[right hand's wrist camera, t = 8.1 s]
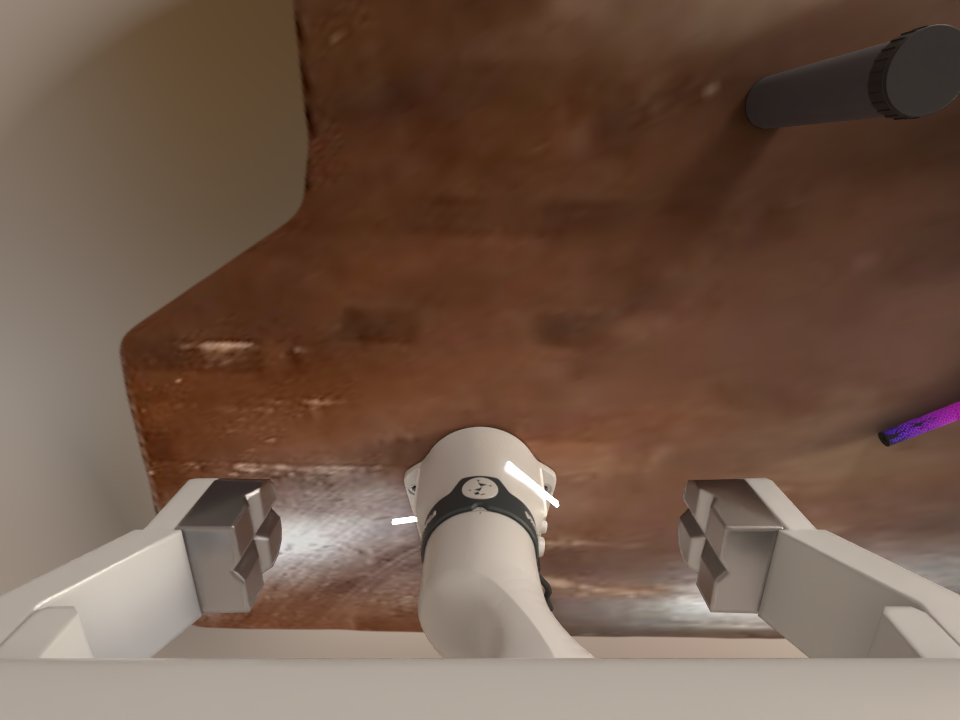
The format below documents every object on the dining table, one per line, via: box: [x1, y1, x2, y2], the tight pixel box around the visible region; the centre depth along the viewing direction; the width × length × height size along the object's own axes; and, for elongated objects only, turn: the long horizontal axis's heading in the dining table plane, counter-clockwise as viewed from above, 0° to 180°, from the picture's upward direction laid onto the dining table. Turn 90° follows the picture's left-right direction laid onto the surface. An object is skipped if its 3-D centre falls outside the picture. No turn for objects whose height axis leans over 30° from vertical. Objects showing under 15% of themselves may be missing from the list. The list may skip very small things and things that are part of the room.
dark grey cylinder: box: [746, 41, 891, 129], centre depth 42 cm, size 5×5×19 cm
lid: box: [867, 24, 960, 120], centre depth 34 cm, size 5×5×2 cm
